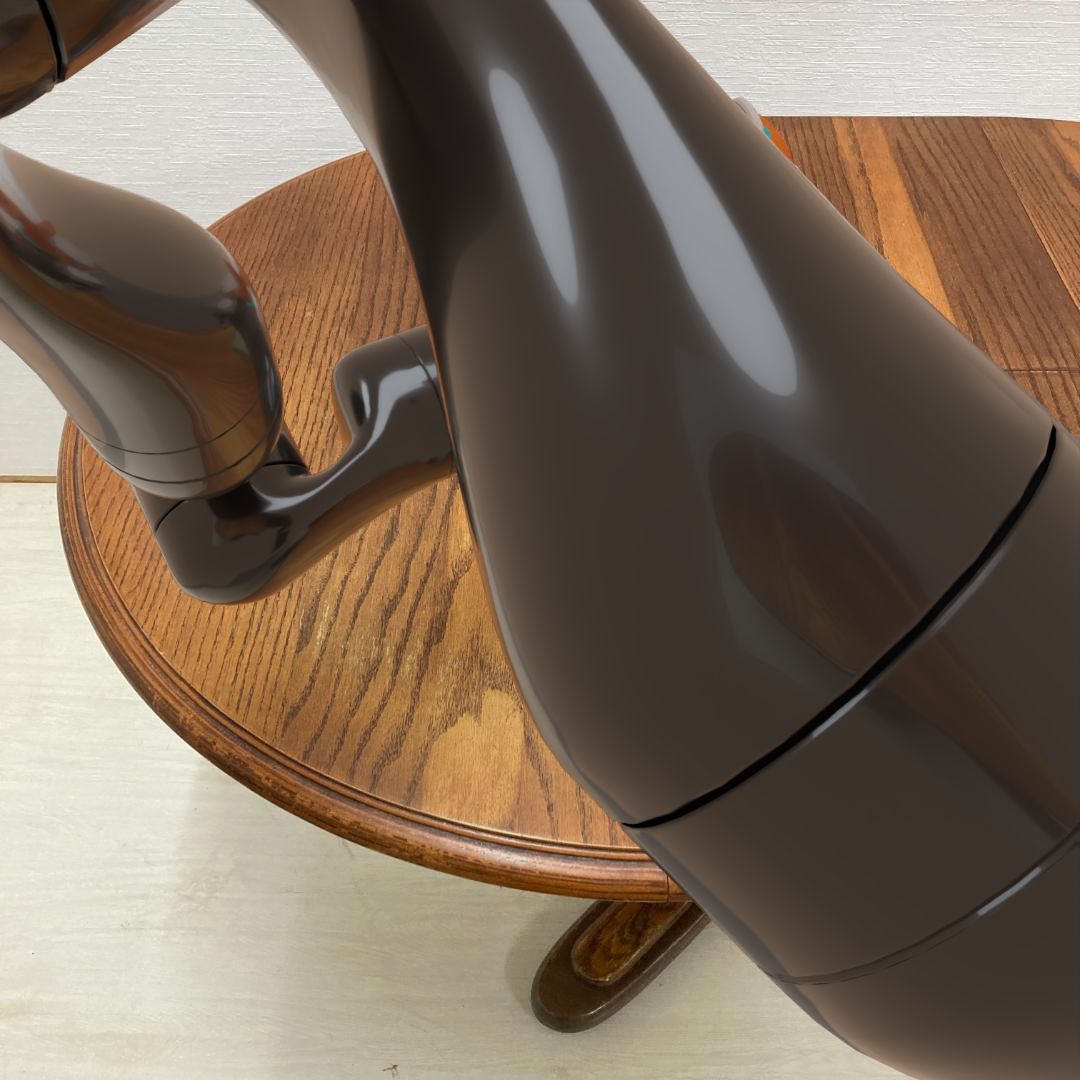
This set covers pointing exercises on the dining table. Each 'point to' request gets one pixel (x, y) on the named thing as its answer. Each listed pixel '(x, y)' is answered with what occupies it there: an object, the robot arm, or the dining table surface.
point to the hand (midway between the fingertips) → (815, 259)
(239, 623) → the dining table surface
